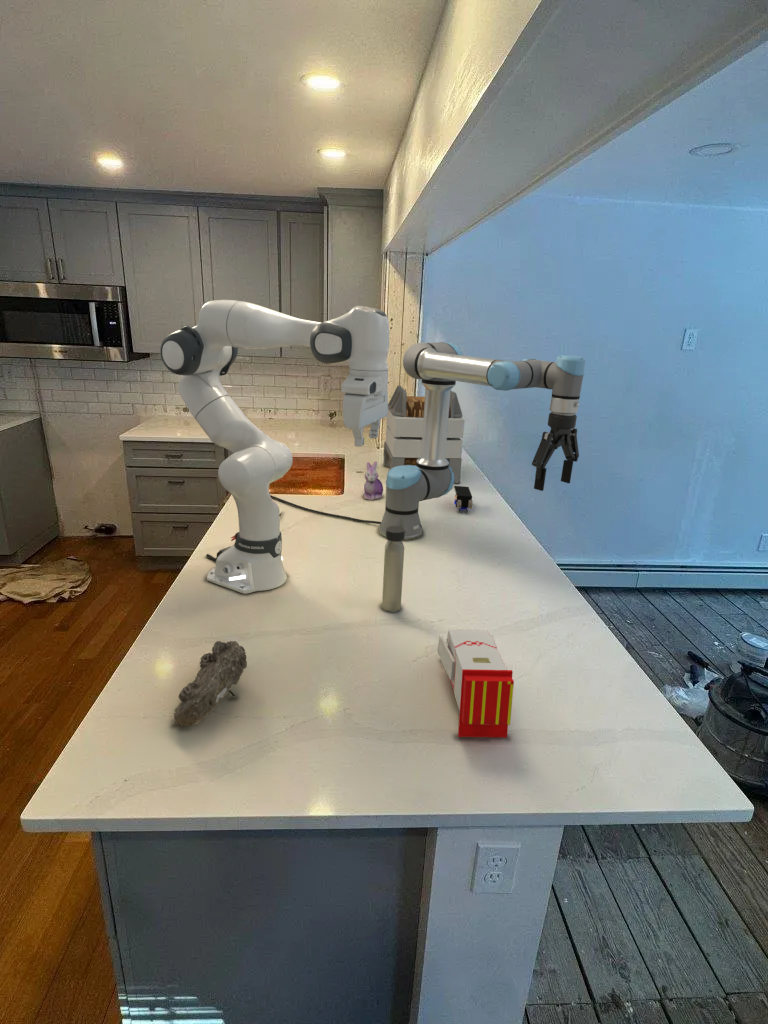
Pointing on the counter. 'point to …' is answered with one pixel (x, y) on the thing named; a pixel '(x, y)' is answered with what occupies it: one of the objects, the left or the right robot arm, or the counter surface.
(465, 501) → the figurine character
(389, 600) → the bottle
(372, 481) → the figurine
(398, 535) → the cap
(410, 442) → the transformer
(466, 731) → the toy
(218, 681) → the fossil
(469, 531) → the counter surface
